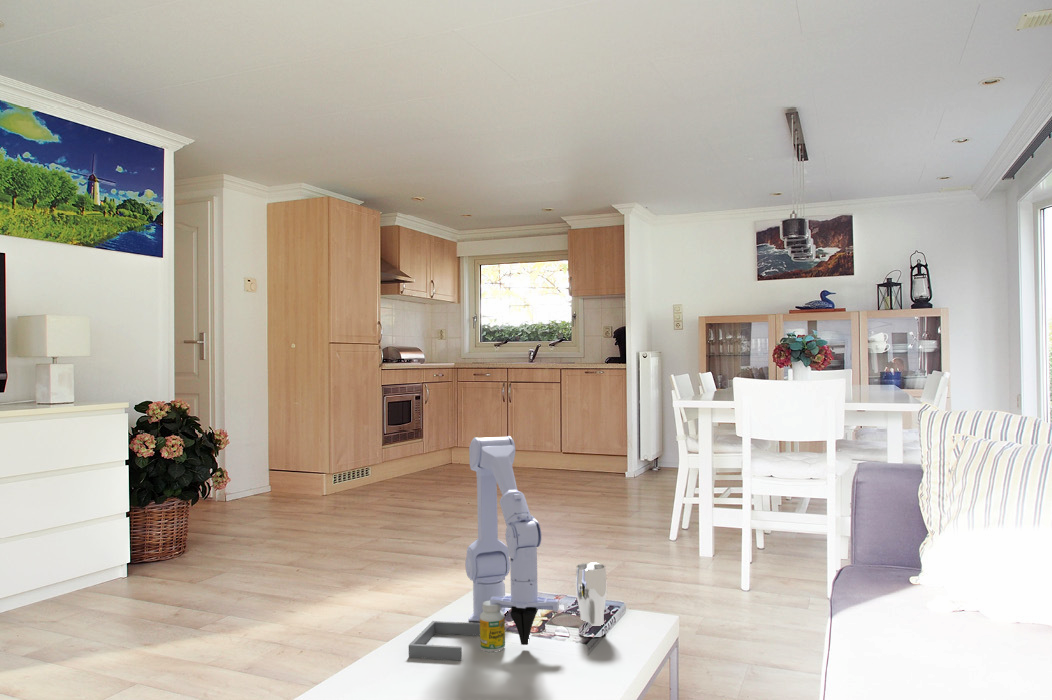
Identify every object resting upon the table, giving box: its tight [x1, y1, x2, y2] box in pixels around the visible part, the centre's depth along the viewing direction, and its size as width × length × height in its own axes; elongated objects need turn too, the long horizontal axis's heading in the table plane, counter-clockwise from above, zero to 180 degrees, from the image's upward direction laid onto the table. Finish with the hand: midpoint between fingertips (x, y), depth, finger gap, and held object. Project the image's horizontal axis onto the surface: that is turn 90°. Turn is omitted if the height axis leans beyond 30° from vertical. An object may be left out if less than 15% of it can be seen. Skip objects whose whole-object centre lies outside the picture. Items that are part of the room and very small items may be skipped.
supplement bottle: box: [479, 600, 506, 653], centre depth 159 cm, size 5×5×10 cm
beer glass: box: [575, 562, 608, 626], centre depth 167 cm, size 7×7×15 cm
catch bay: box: [408, 620, 480, 661], centre depth 161 cm, size 16×11×2 cm
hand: (525, 643), depth 157 cm, fingers closed
